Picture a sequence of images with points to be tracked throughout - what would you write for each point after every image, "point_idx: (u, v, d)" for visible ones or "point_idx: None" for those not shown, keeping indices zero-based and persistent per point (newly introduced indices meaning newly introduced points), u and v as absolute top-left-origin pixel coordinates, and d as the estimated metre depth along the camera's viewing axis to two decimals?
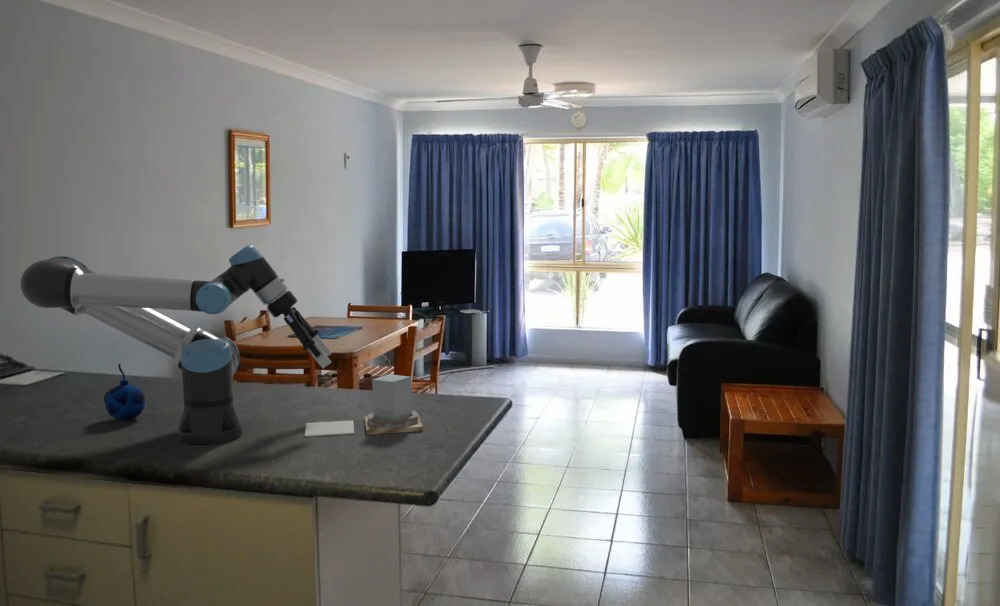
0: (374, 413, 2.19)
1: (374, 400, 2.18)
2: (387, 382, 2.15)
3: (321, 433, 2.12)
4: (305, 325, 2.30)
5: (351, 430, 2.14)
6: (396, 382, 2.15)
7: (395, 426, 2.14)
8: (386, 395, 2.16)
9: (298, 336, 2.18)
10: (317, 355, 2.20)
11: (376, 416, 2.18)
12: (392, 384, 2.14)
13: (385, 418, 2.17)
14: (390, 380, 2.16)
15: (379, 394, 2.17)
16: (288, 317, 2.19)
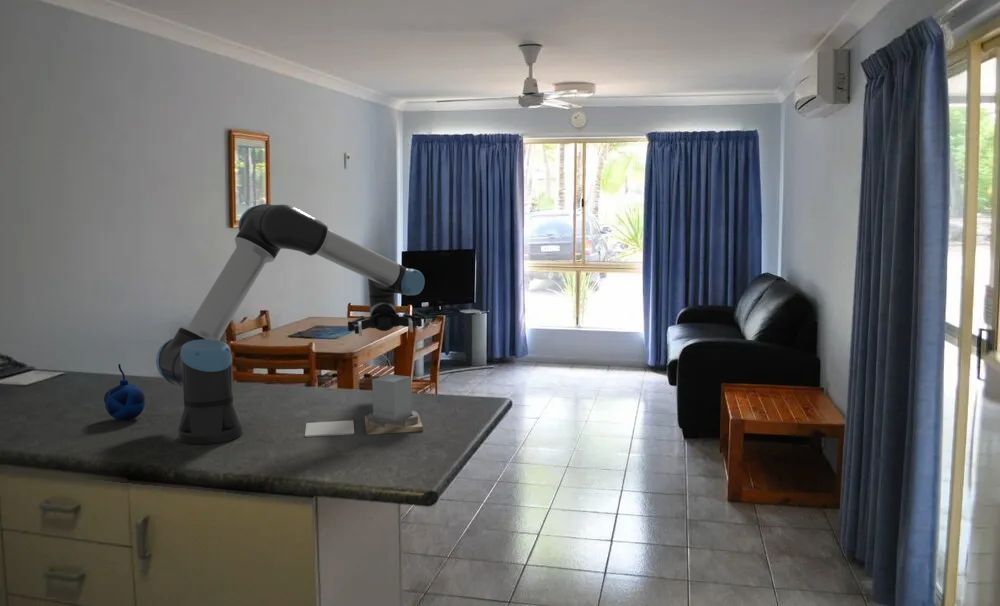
0: (374, 413, 2.19)
1: (374, 400, 2.18)
2: (387, 382, 2.15)
3: (321, 433, 2.12)
4: (370, 326, 2.39)
5: (351, 430, 2.14)
6: (396, 382, 2.15)
7: (395, 426, 2.14)
8: (386, 395, 2.16)
9: None
10: (415, 323, 2.34)
11: (376, 416, 2.18)
12: (392, 384, 2.14)
13: (385, 418, 2.17)
14: (390, 380, 2.16)
15: (379, 394, 2.17)
16: None
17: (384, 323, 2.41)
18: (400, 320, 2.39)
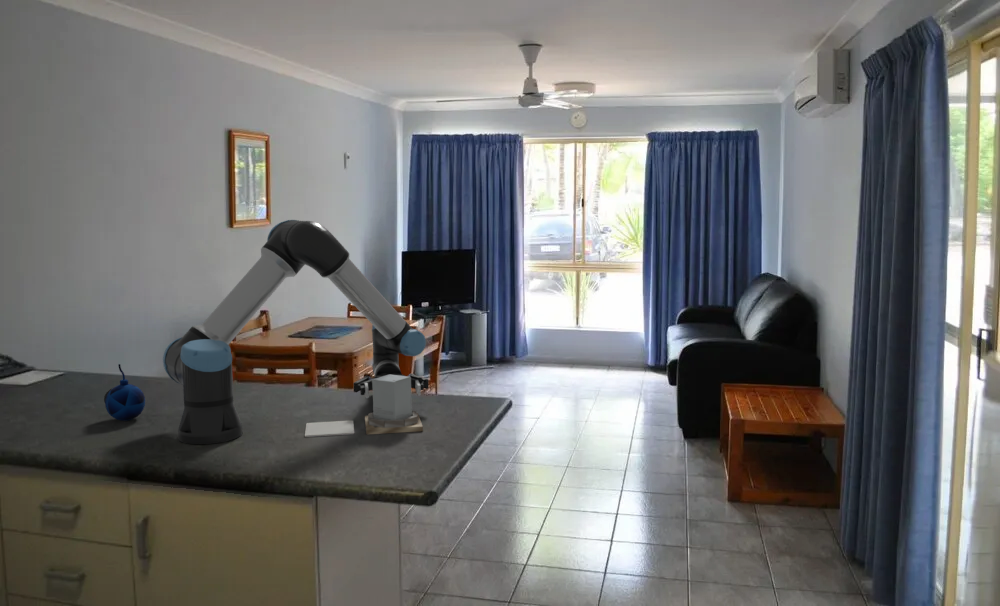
0: (374, 413, 2.19)
1: (374, 400, 2.18)
2: (387, 382, 2.15)
3: (321, 433, 2.12)
4: None
5: (351, 430, 2.14)
6: (396, 382, 2.15)
7: (395, 426, 2.14)
8: (386, 395, 2.16)
9: None
10: (423, 386, 2.30)
11: (376, 416, 2.18)
12: (392, 384, 2.14)
13: (385, 418, 2.17)
14: (390, 380, 2.16)
15: (379, 394, 2.17)
16: None
17: None
18: None
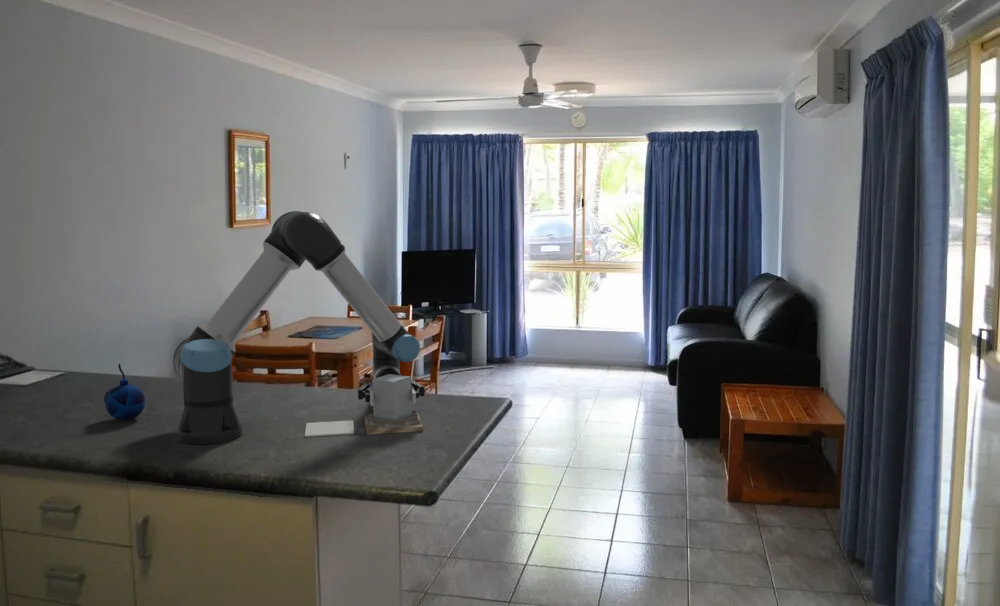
0: (374, 413, 2.19)
1: (374, 400, 2.18)
2: (387, 382, 2.15)
3: (321, 433, 2.12)
4: None
5: (351, 430, 2.14)
6: (396, 382, 2.15)
7: (395, 426, 2.14)
8: (386, 395, 2.16)
9: None
10: (418, 394, 2.20)
11: (376, 416, 2.18)
12: (392, 384, 2.14)
13: (385, 418, 2.17)
14: (390, 380, 2.16)
15: (379, 394, 2.17)
16: None
17: None
18: None
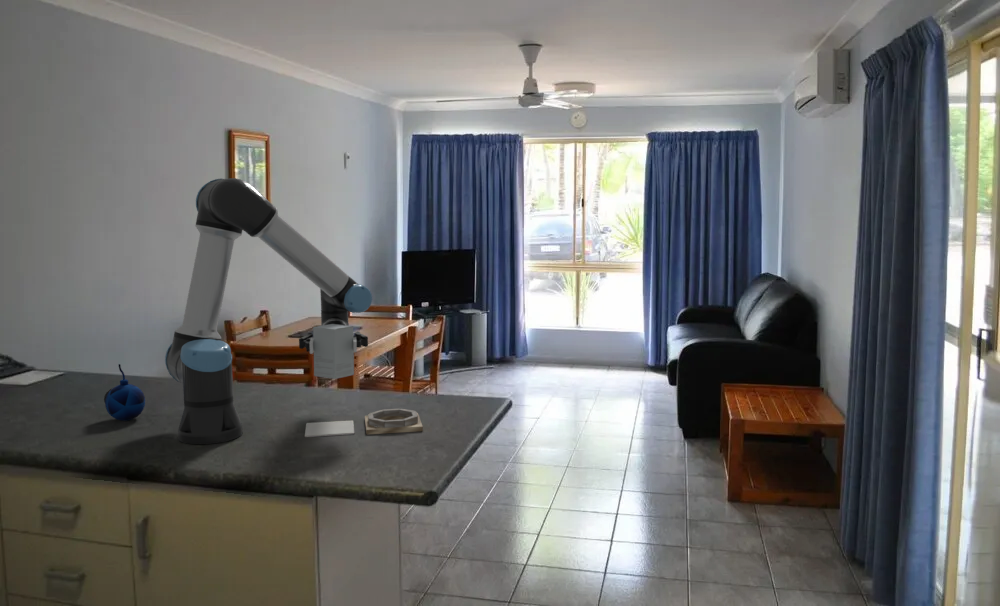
0: (314, 362, 2.14)
1: (315, 348, 2.14)
2: (327, 329, 2.11)
3: (321, 433, 2.12)
4: None
5: (351, 430, 2.14)
6: (337, 330, 2.11)
7: (395, 426, 2.14)
8: (326, 343, 2.12)
9: None
10: (360, 343, 2.16)
11: (316, 365, 2.14)
12: (332, 331, 2.10)
13: (325, 367, 2.12)
14: (331, 328, 2.12)
15: (320, 342, 2.13)
16: None
17: None
18: None
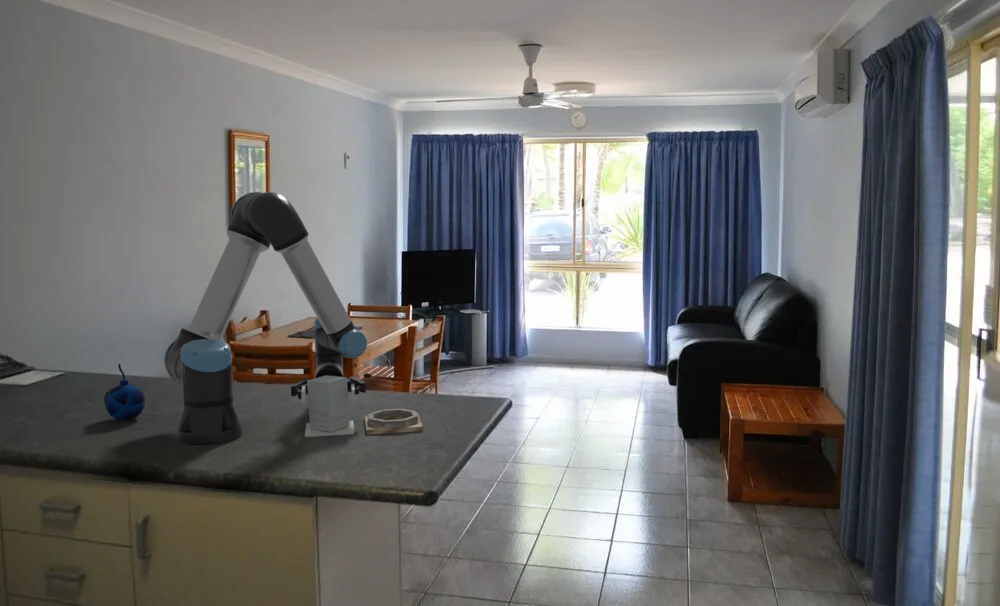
0: (310, 415, 2.16)
1: (309, 402, 2.15)
2: (321, 383, 2.12)
3: (321, 433, 2.12)
4: None
5: (351, 430, 2.14)
6: (330, 383, 2.12)
7: (395, 426, 2.14)
8: (321, 396, 2.13)
9: None
10: (358, 390, 2.18)
11: (312, 418, 2.15)
12: (326, 385, 2.12)
13: (320, 420, 2.14)
14: (325, 381, 2.13)
15: (314, 396, 2.14)
16: None
17: None
18: None
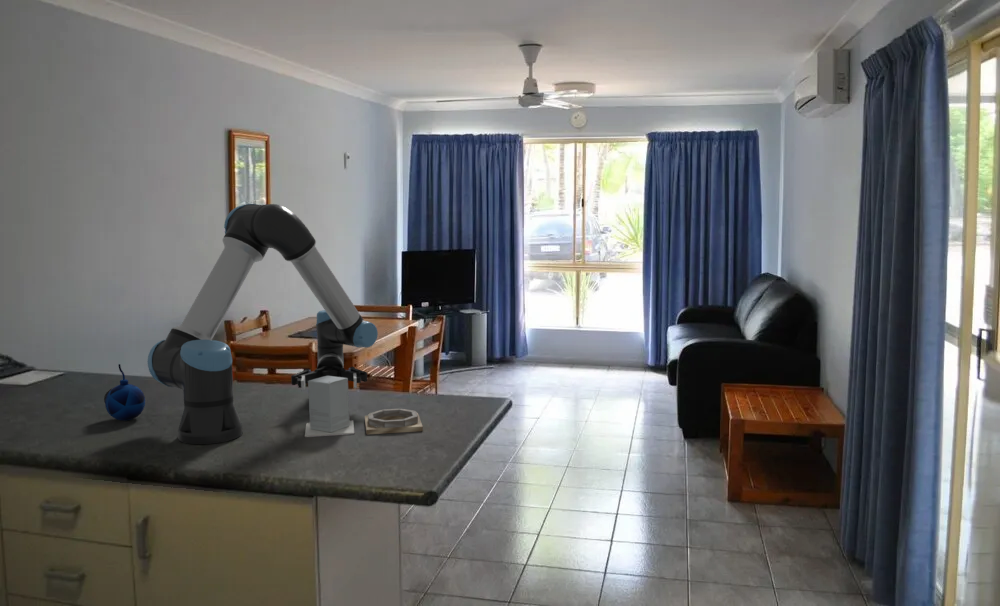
0: (310, 415, 2.16)
1: (310, 402, 2.15)
2: (322, 383, 2.12)
3: (321, 433, 2.12)
4: None
5: (351, 430, 2.14)
6: (331, 383, 2.12)
7: (395, 426, 2.14)
8: (321, 397, 2.13)
9: None
10: (360, 379, 2.31)
11: (312, 418, 2.15)
12: (327, 385, 2.12)
13: (321, 420, 2.14)
14: (325, 381, 2.13)
15: (315, 396, 2.14)
16: None
17: None
18: (345, 374, 2.36)
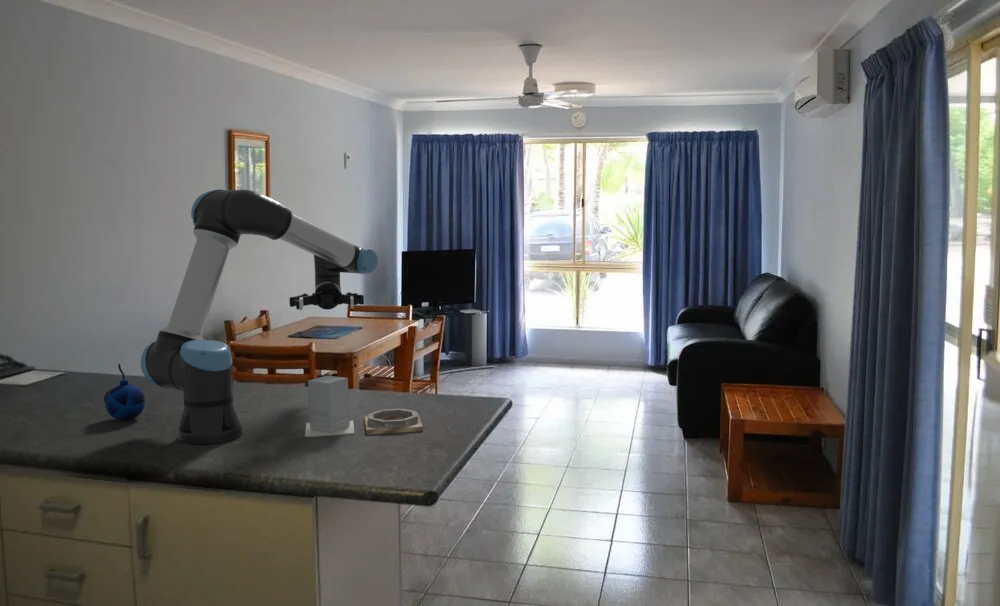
0: (310, 415, 2.16)
1: (310, 402, 2.15)
2: (322, 383, 2.12)
3: (321, 433, 2.12)
4: (312, 302, 2.40)
5: (351, 430, 2.14)
6: (331, 383, 2.12)
7: (395, 426, 2.14)
8: (321, 397, 2.13)
9: None
10: (357, 301, 2.35)
11: (312, 418, 2.15)
12: (327, 385, 2.12)
13: (321, 420, 2.14)
14: (325, 381, 2.13)
15: (315, 396, 2.14)
16: None
17: (327, 301, 2.42)
18: (342, 298, 2.41)
